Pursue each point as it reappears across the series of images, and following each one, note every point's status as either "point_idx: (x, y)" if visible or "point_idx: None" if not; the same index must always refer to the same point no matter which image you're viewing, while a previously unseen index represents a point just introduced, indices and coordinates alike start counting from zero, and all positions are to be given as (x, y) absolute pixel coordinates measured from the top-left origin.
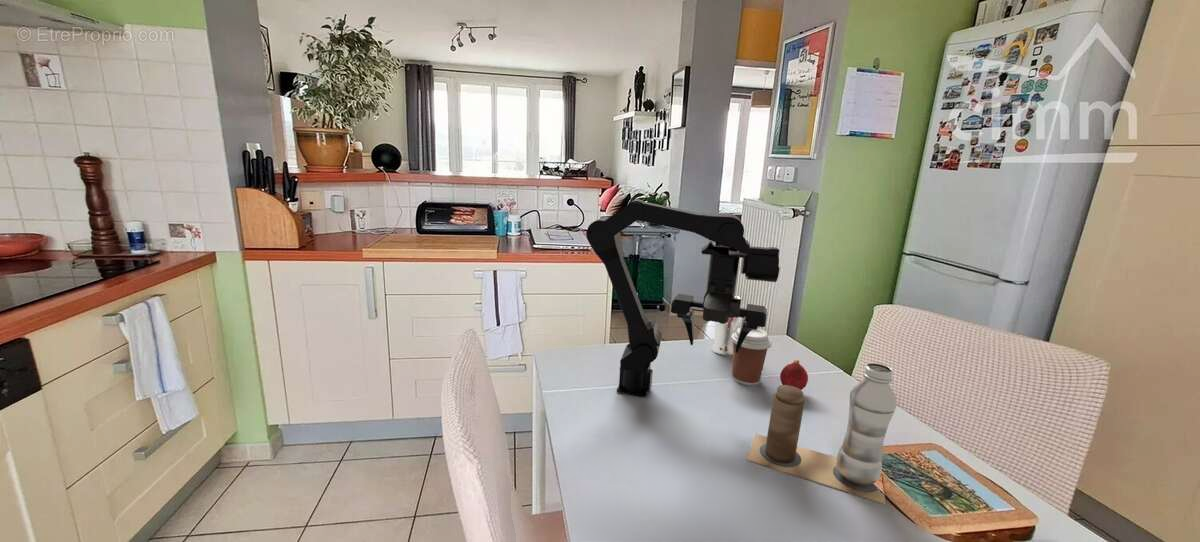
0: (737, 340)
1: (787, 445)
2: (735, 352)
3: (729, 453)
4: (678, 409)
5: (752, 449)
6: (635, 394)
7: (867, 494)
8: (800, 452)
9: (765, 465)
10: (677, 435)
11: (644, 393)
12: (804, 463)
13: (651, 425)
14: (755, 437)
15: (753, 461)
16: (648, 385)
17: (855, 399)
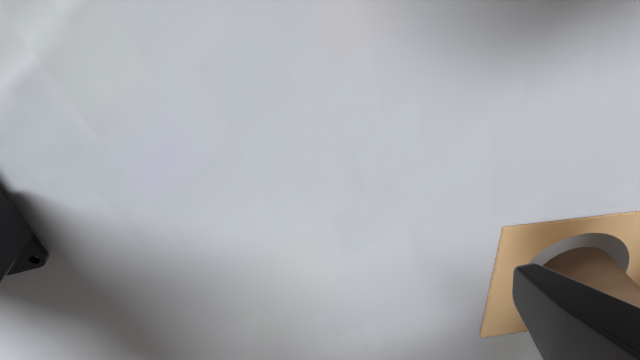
0: (593, 357)
1: None
2: (515, 304)
3: (434, 336)
4: (212, 245)
5: (495, 299)
6: (8, 272)
7: None
8: (635, 238)
9: (526, 330)
10: (282, 351)
11: (31, 252)
12: (632, 274)
13: (193, 357)
14: (504, 247)
15: (497, 334)
16: (16, 258)
17: None
